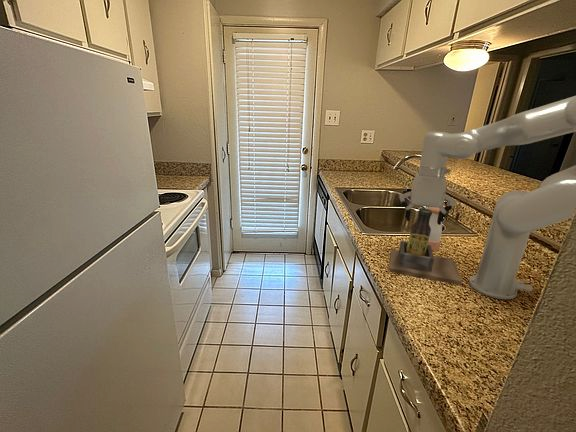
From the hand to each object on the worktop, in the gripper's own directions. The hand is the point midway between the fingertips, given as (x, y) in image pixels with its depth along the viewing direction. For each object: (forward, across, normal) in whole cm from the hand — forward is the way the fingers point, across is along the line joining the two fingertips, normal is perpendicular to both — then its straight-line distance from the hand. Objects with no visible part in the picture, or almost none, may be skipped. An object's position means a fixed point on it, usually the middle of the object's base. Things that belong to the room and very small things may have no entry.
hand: (423, 221), depth 99 cm
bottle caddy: (+17, -2, 0) cm, 17 cm away
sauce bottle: (+16, +1, 0) cm, 16 cm away
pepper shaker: (+17, -6, -20) cm, 27 cm away
